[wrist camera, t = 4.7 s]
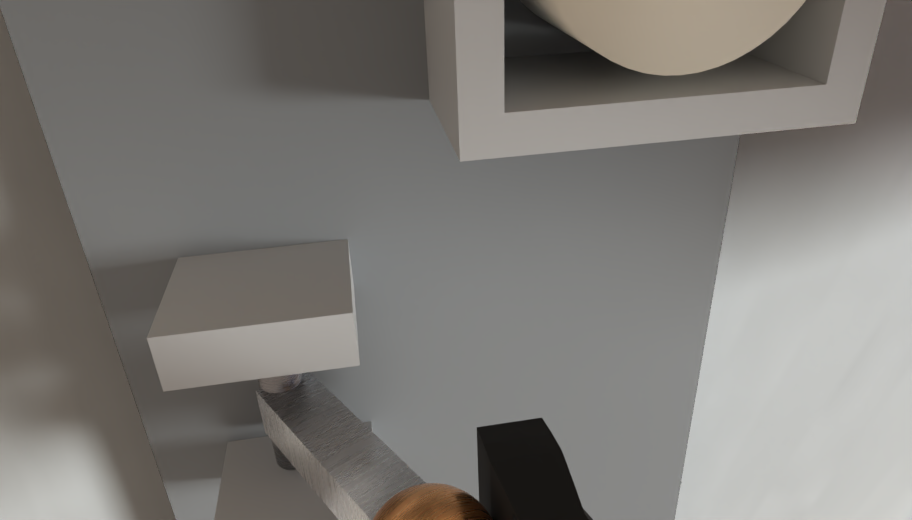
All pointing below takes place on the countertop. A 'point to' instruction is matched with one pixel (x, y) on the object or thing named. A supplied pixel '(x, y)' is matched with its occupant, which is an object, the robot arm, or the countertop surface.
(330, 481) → the lever
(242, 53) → the panel
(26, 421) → the countertop surface
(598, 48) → the button
